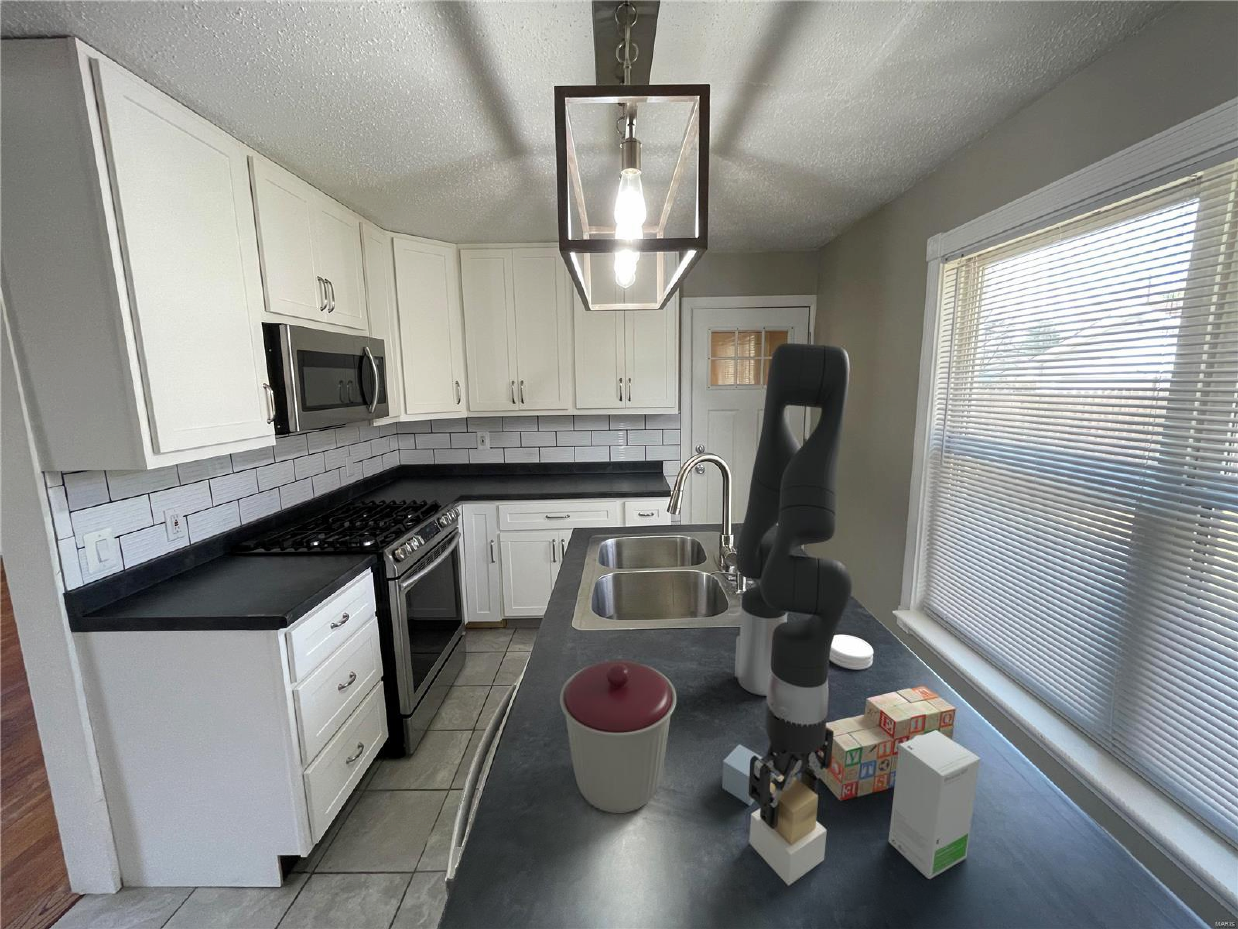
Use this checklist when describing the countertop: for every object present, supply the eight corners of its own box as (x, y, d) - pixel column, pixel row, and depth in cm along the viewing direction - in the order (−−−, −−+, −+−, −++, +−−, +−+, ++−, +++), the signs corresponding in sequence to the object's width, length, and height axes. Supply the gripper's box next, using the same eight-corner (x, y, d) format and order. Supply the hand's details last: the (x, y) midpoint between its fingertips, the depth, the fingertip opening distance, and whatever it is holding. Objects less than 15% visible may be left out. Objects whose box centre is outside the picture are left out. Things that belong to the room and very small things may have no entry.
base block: (749, 844, 71) (751, 814, 70) (783, 822, 74) (785, 793, 74) (788, 887, 65) (790, 855, 64) (823, 861, 69) (826, 830, 68)
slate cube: (722, 788, 80) (723, 761, 80) (738, 770, 84) (739, 744, 83) (750, 806, 77) (751, 778, 76) (765, 787, 81) (767, 760, 80)
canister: (647, 733, 92) (648, 628, 89) (694, 813, 76) (698, 688, 72) (551, 759, 86) (547, 648, 82) (579, 852, 70) (577, 718, 66)
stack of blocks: (840, 803, 78) (846, 733, 75) (814, 773, 84) (819, 707, 81) (948, 773, 83) (957, 707, 81) (916, 746, 89) (924, 684, 87)
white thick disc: (851, 644, 123) (852, 631, 122) (882, 667, 114) (883, 652, 113) (816, 650, 120) (817, 637, 120) (845, 674, 111) (846, 659, 110)
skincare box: (928, 882, 65) (941, 778, 63) (883, 839, 71) (894, 743, 69) (969, 857, 69) (984, 758, 66) (923, 819, 75) (935, 726, 72)
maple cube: (761, 817, 70) (763, 786, 69) (785, 801, 72) (787, 771, 71) (791, 845, 65) (793, 812, 64) (815, 827, 68) (818, 795, 67)
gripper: (808, 671, 72) (801, 770, 75) (735, 705, 65) (731, 813, 68) (856, 699, 66) (845, 806, 69) (781, 741, 59) (774, 858, 62)
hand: (789, 809), depth 69 cm, fingers open, 7 cm apart
